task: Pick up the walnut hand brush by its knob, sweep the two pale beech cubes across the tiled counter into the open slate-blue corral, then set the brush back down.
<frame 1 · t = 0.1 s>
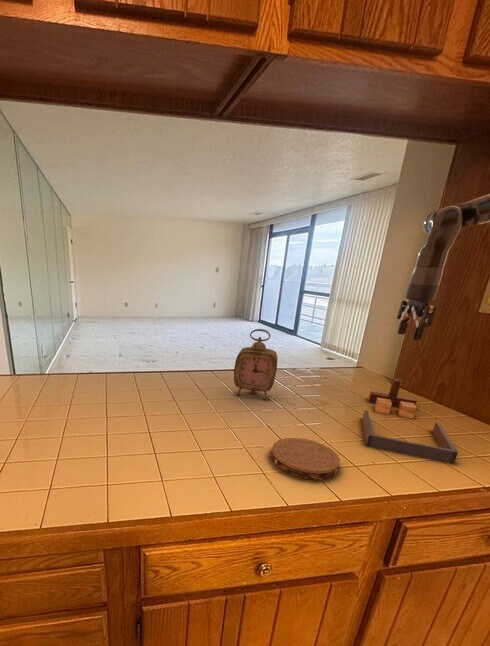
hand: (408, 336, 110), 26 cm above the worktop, tool pointing down, fingers open, 8 cm apart
corral: (402, 438, 101), on the worktop
cube b: (404, 415, 116), on the worktop
cube a: (381, 411, 119), on the worktop
brown disc: (302, 464, 88), on the worktop
brush: (390, 404, 124), on the worktop
tabletop clock: (252, 395, 131), on the worktop
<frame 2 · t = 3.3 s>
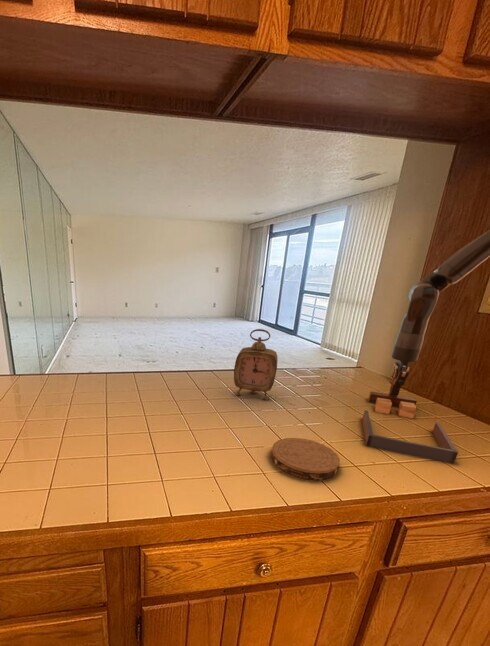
hand: (393, 393, 123), 5 cm above the worktop, tool pointing down, fingers closed on brush, 2 cm apart
brush: (390, 404, 124), on the worktop, touching gripper
everything else where it was.
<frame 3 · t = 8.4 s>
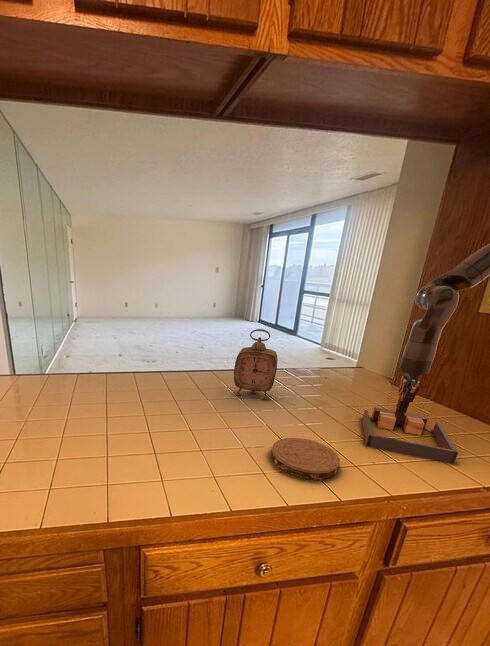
hand: (401, 409, 108), 5 cm above the worktop, tool pointing down, fingers closed on brush, 2 cm apart
cube b: (411, 431, 105), on the worktop
cube a: (384, 426, 108), on the worktop
brush: (396, 423, 110), point 1 cm above the worktop, touching gripper
everything else where it was.
when the fingers open (5 cm above the worktop, at t = 19.3 s): brush stays where it is, on the worktop.
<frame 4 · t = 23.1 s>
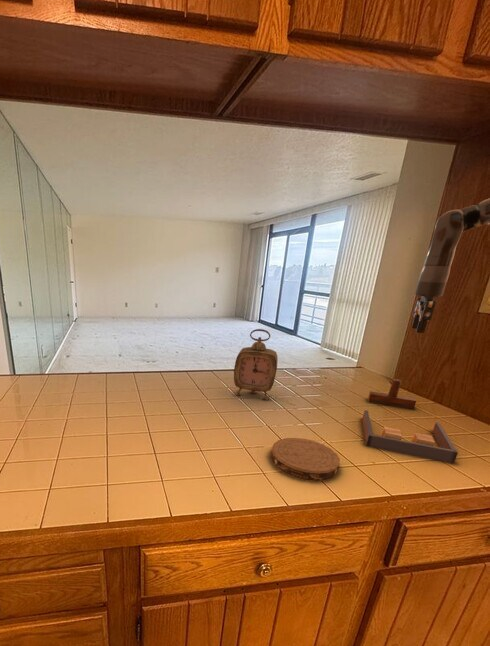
hand: (417, 330, 118), 26 cm above the worktop, tool pointing down, fingers open, 8 cm apart
cube b: (420, 449, 95), on the worktop
cube a: (389, 443, 98), on the worktop
brush: (389, 404, 124), on the worktop
everything else where it was.
at the end: cube a 6.5 cm from the corral (horizontally); cube b 6.4 cm from the corral (horizontally); the gripper is holding nothing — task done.
